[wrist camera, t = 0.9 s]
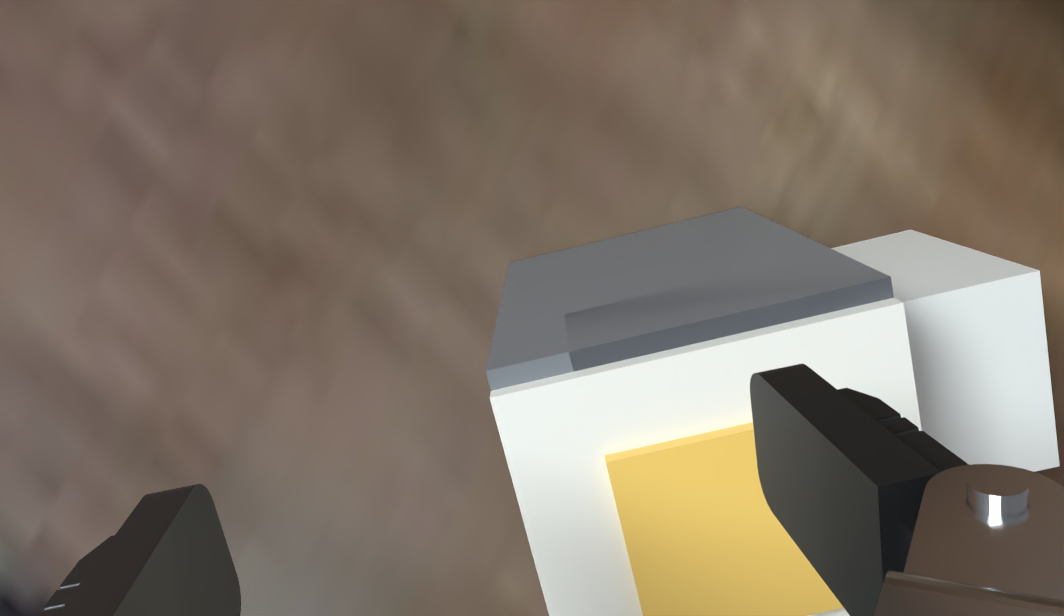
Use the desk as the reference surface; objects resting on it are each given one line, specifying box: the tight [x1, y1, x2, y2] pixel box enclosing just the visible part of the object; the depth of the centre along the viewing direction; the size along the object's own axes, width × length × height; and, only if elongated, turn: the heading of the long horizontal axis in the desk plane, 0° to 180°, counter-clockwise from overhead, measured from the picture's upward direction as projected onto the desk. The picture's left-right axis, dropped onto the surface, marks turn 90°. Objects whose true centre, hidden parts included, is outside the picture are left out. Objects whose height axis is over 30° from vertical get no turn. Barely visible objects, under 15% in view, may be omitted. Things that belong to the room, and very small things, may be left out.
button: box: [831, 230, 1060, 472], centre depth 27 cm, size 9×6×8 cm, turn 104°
